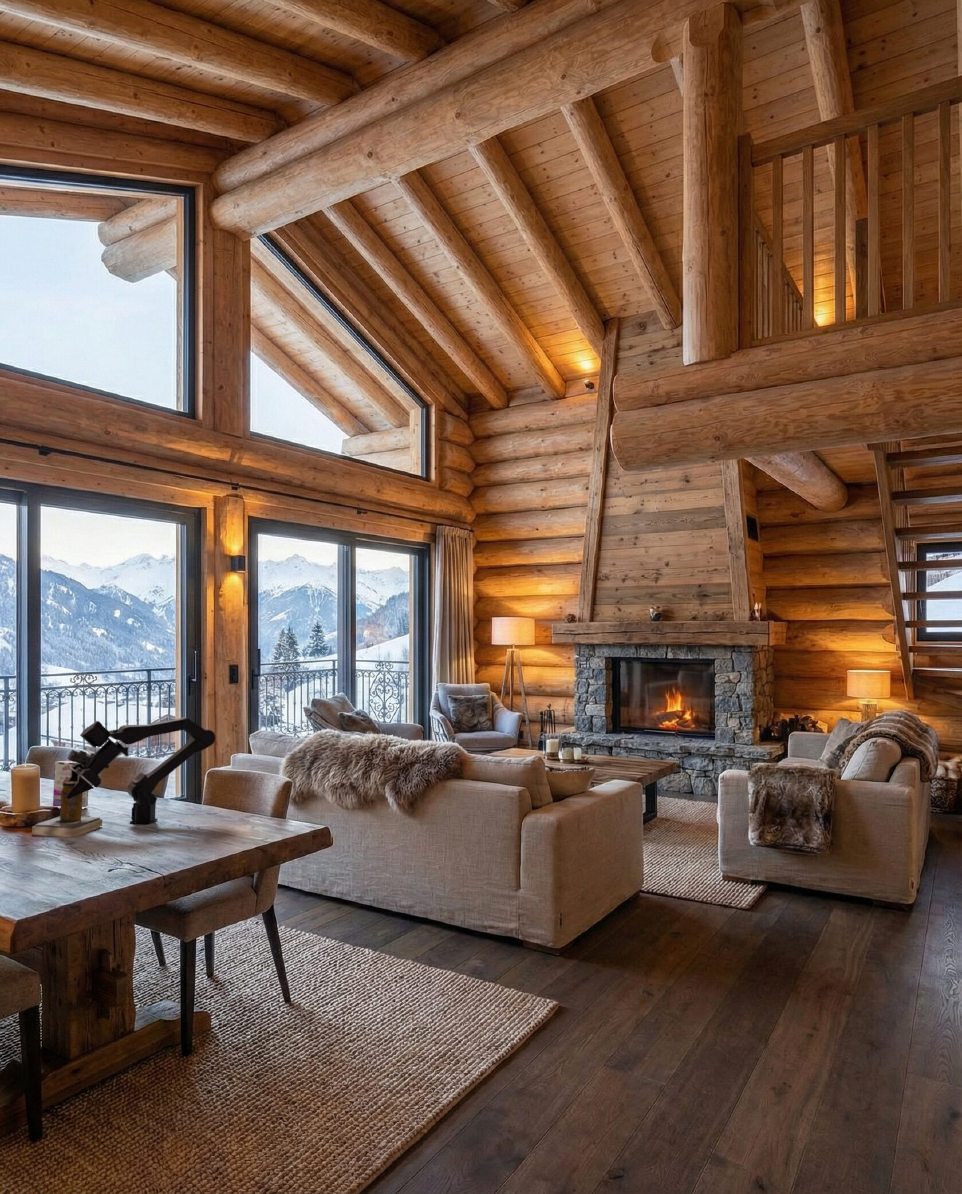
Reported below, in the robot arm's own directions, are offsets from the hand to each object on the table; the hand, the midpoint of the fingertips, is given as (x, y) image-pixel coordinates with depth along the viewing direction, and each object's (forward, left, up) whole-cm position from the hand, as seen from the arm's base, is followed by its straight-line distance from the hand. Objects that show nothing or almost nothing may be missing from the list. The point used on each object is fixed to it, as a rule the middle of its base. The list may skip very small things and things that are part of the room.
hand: (64, 795), depth 255 cm
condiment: (-1, -1, -8) cm, 9 cm away
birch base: (-1, -1, -11) cm, 11 cm away
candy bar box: (+19, -30, -11) cm, 37 cm away
